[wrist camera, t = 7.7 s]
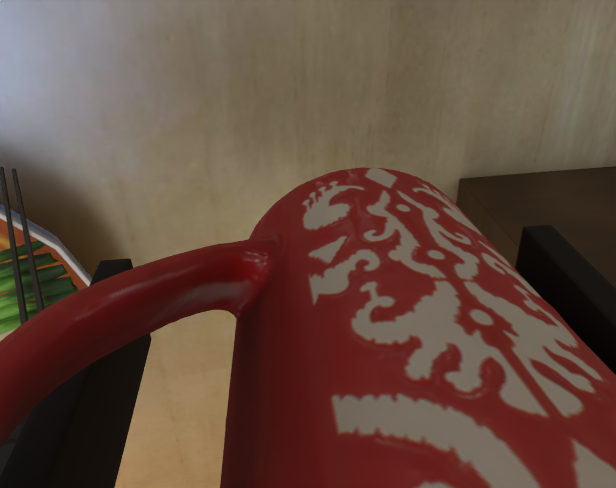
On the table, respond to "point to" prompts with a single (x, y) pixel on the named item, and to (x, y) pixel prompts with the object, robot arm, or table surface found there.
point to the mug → (357, 348)
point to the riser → (547, 211)
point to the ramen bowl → (31, 266)
